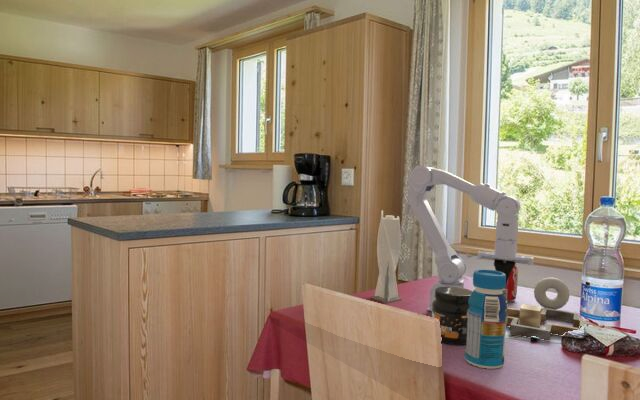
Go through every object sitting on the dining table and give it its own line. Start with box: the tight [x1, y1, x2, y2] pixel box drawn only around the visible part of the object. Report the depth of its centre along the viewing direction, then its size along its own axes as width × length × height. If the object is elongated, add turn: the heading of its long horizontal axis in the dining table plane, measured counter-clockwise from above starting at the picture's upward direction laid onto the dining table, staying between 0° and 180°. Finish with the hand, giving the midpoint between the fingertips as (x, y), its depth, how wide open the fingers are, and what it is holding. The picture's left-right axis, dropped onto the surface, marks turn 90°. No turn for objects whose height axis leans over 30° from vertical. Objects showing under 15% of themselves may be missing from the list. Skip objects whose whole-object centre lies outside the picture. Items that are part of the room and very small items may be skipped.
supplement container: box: [431, 287, 474, 346], centre depth 125 cm, size 10×10×12 cm
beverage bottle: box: [464, 269, 509, 370], centre depth 109 cm, size 8×8×20 cm
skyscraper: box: [370, 210, 403, 304], centre depth 160 cm, size 8×8×28 cm
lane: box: [506, 307, 586, 341], centre depth 137 cm, size 22×23×4 cm
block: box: [518, 303, 543, 328], centre depth 138 cm, size 5×5×5 cm
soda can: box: [494, 262, 519, 303], centre depth 164 cm, size 7×7×12 cm
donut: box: [533, 276, 570, 310], centre depth 154 cm, size 10×4×10 cm, turn 72°
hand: (503, 287), depth 141 cm, fingers closed
